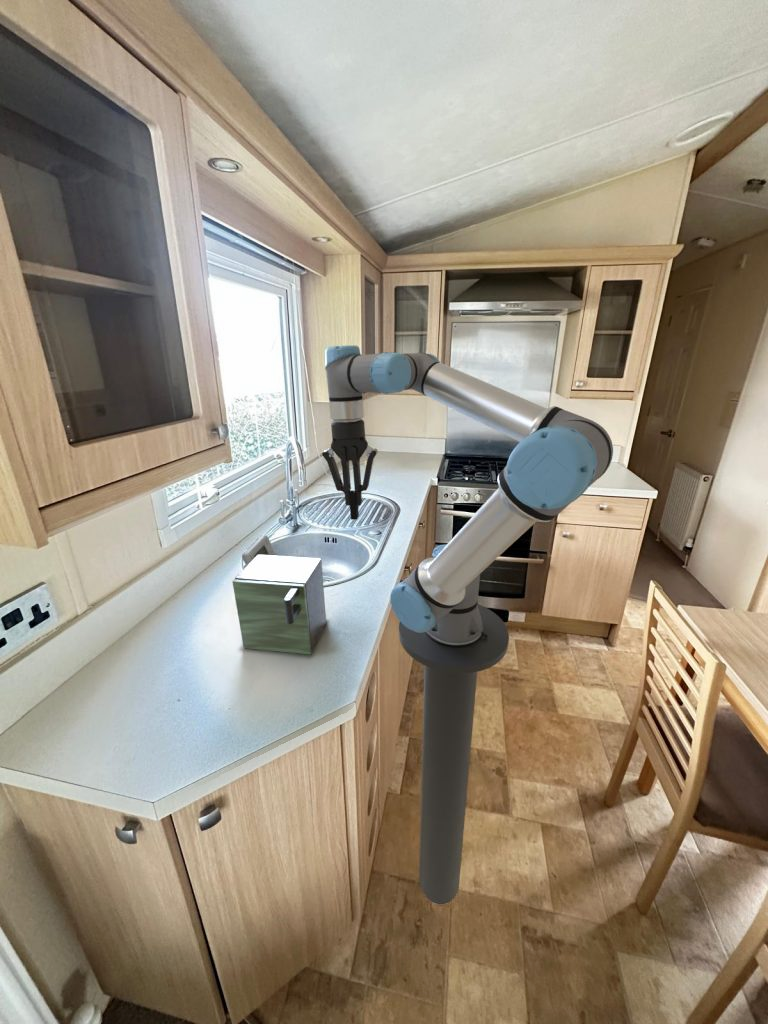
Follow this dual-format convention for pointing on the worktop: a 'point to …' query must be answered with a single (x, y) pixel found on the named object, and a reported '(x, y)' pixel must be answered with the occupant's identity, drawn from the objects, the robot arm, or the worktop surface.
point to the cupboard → (297, 573)
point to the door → (273, 616)
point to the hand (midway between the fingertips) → (354, 517)
